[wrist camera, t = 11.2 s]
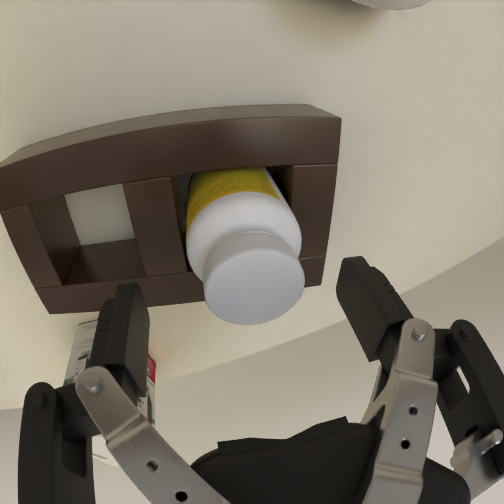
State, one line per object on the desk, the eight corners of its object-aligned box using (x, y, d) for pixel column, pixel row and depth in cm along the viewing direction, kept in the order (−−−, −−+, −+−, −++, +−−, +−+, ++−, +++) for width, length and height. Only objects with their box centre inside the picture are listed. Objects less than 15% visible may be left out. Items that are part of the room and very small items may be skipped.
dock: (21, 147, 14) (-14, 172, 11) (310, 104, 17) (342, 117, 13) (65, 274, 21) (49, 314, 17) (301, 247, 23) (321, 285, 19)
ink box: (158, 363, 29) (160, 467, 20) (121, 370, 29) (116, 468, 20) (115, 312, 24) (98, 438, 14) (75, 323, 24) (52, 436, 14)
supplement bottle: (170, 187, 18) (155, 293, 11) (234, 131, 17) (272, 199, 9) (225, 237, 21) (246, 350, 13) (285, 190, 20) (345, 287, 12)
